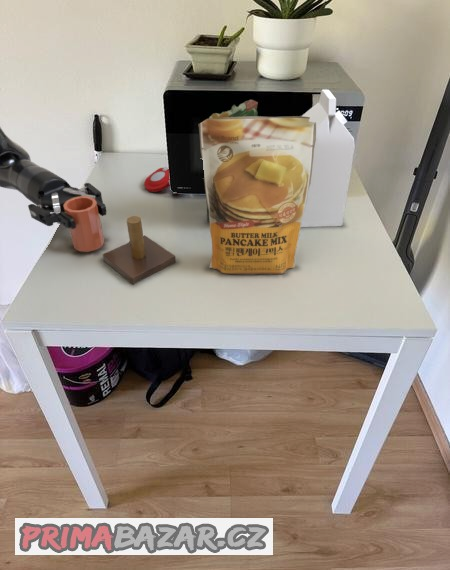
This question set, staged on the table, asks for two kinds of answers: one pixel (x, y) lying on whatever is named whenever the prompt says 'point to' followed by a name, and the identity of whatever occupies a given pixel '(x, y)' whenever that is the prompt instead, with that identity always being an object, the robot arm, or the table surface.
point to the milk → (328, 165)
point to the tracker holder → (158, 180)
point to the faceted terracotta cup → (85, 223)
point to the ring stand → (138, 254)
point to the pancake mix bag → (256, 189)
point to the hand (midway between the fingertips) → (89, 217)
